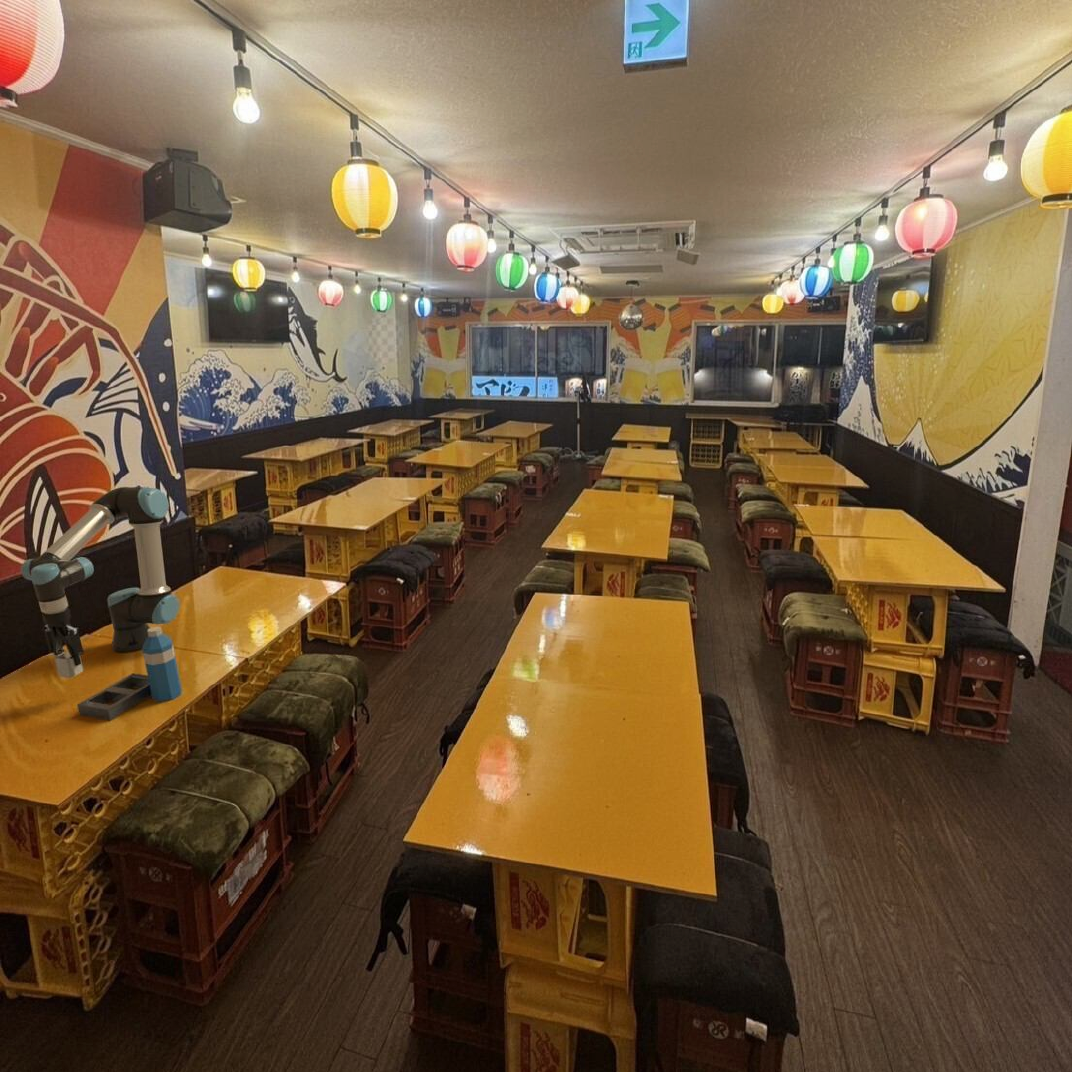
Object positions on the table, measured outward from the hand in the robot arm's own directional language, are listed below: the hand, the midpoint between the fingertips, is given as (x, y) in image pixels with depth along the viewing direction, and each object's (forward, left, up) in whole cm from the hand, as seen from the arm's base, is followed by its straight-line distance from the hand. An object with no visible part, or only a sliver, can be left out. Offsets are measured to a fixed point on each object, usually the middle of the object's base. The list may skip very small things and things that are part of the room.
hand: (72, 672), depth 231 cm
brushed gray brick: (0, 0, 0) cm, 0 cm away
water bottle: (-10, +29, -10) cm, 32 cm away
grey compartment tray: (-3, +17, -10) cm, 20 cm away
